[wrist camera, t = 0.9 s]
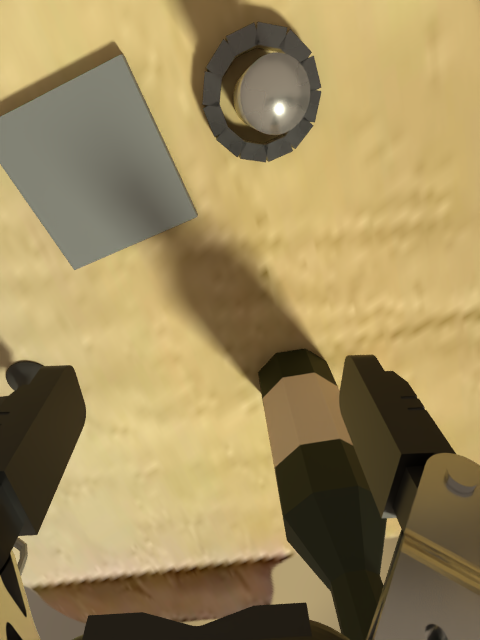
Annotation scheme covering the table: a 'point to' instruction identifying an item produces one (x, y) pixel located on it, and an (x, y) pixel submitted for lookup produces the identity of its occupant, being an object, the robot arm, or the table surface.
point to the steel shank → (272, 94)
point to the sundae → (20, 375)
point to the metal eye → (220, 62)
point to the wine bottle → (323, 486)
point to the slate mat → (94, 164)
